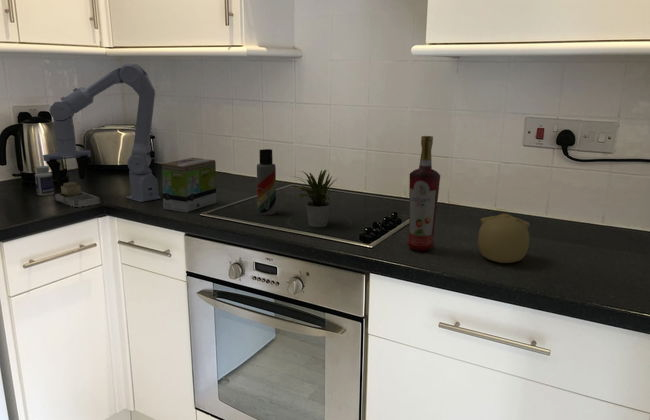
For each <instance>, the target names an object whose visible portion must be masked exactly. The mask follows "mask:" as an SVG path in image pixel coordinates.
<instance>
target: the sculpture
mask: <svg viewBox="0 0 650 420" xmlns="http://www.w3.org/2000/svg"><path fill="white" fill-rule="evenodd" d="M480 223H481V226H480V228H479V229H478V230H479V231H478V235H477V245H478V249H479V252H480V254H481V256H483V257H484V258H485V259H488V260H490V261H492V262H495V263H501V264H511V263H516V262H519V261H521V260H523V258H524V257H525V256H526V254H527V252H528V251H529V250H528V249H529V247H530V232H529V229H528V228H529V227H530V226H531V224H530V222H529V221H526V220H524V219H521V218H519V217H514V216H512V215H511V214H509V213H501V214H498V215H491V216H487V217H482V218H480Z"/></svg>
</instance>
